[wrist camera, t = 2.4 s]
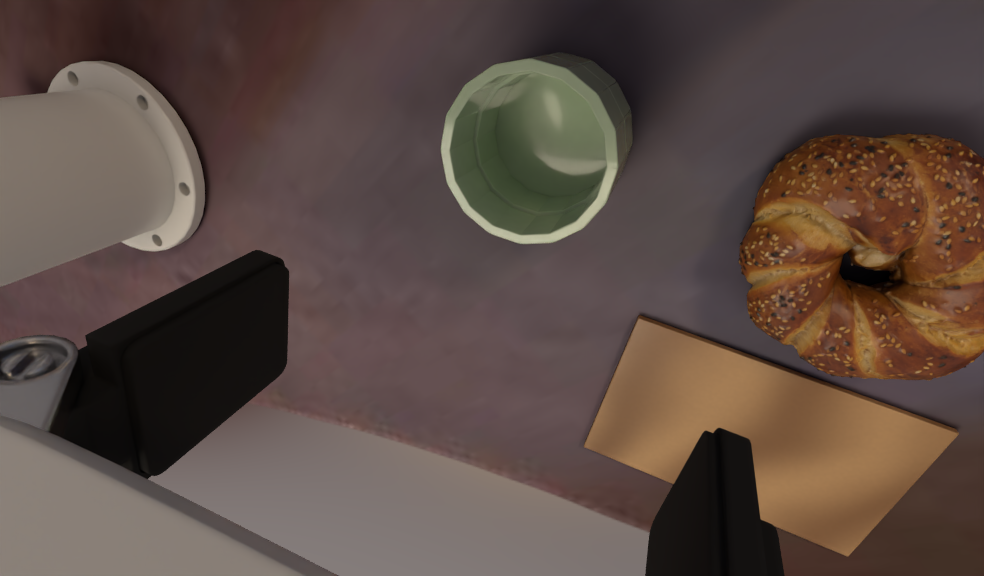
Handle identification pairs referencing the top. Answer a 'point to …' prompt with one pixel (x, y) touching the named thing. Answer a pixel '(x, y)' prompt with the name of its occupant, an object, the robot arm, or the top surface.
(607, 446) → the cork mat
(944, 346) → the seeded bagel
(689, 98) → the top surface
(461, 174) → the green cup
